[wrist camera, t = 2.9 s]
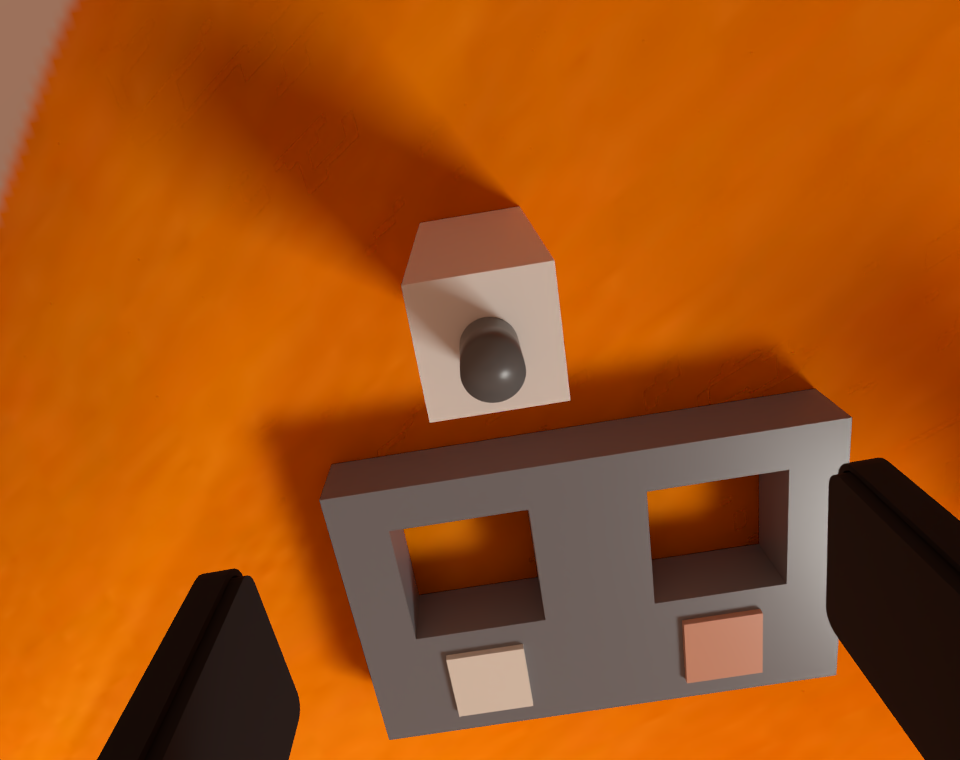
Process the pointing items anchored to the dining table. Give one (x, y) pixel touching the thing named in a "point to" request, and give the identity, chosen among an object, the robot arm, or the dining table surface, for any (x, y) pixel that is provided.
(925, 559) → the robot arm
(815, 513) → the socket board
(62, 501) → the dining table surface
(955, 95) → the dining table surface
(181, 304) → the dining table surface
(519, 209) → the plug
